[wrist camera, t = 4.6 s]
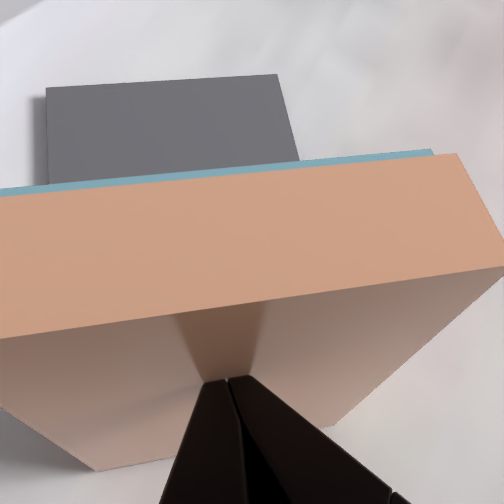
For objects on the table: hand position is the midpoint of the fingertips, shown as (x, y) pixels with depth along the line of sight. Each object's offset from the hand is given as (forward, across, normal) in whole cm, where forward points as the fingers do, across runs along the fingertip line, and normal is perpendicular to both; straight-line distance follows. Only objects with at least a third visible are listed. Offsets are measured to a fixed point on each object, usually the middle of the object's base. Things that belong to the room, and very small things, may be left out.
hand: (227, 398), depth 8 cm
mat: (+10, 0, -1) cm, 10 cm away
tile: (+5, 0, +4) cm, 7 cm away
